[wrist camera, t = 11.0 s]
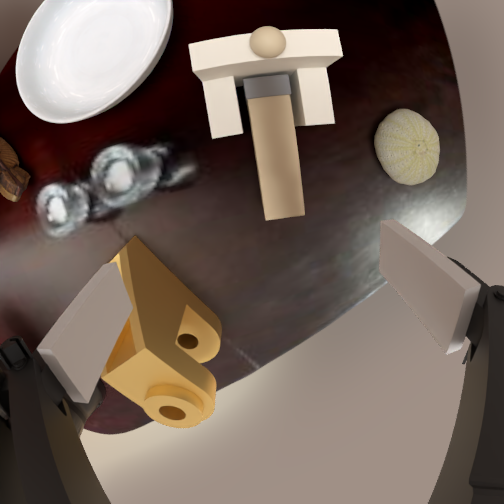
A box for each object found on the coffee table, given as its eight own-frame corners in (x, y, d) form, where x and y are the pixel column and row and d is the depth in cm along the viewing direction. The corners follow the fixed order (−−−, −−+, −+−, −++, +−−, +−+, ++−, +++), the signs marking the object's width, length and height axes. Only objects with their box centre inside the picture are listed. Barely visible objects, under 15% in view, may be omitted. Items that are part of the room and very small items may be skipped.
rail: (261, 205, 35) (265, 221, 29) (243, 88, 29) (243, 79, 23) (296, 200, 34) (306, 216, 29) (280, 84, 29) (288, 74, 23)
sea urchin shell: (386, 198, 31) (400, 155, 24) (360, 150, 35) (366, 105, 27) (442, 184, 31) (463, 143, 23) (415, 140, 34) (427, 98, 27)
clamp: (234, 330, 42) (230, 419, 28) (192, 356, 45) (177, 438, 30) (135, 234, 36) (77, 302, 21) (99, 273, 38) (44, 343, 23)
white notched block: (219, 136, 31) (200, 141, 18) (208, 71, 28) (182, 35, 15) (317, 124, 30) (363, 122, 18) (306, 59, 27) (345, 20, 14)
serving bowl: (61, -2, 20) (36, -15, 14) (198, -25, 22) (189, -51, 15) (36, 126, 29) (5, 131, 22) (171, 121, 30) (153, 120, 24)
